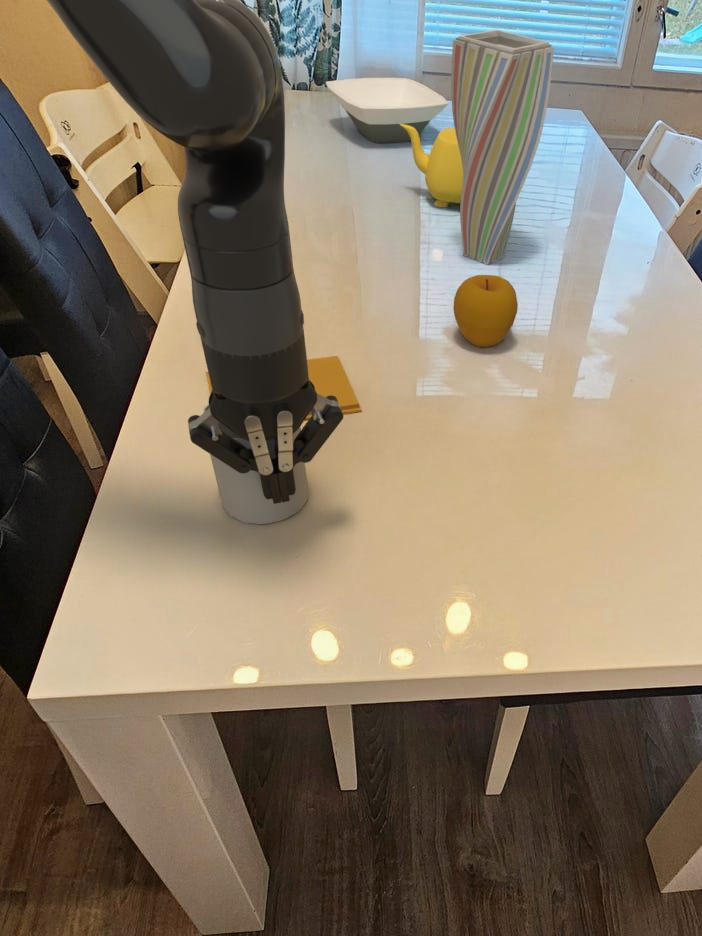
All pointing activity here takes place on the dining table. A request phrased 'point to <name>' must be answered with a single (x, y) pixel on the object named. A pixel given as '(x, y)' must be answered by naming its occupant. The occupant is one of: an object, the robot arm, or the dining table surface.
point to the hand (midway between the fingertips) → (279, 496)
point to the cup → (256, 488)
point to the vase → (496, 130)
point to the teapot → (440, 165)
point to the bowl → (387, 106)
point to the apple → (485, 309)
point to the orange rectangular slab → (329, 383)
